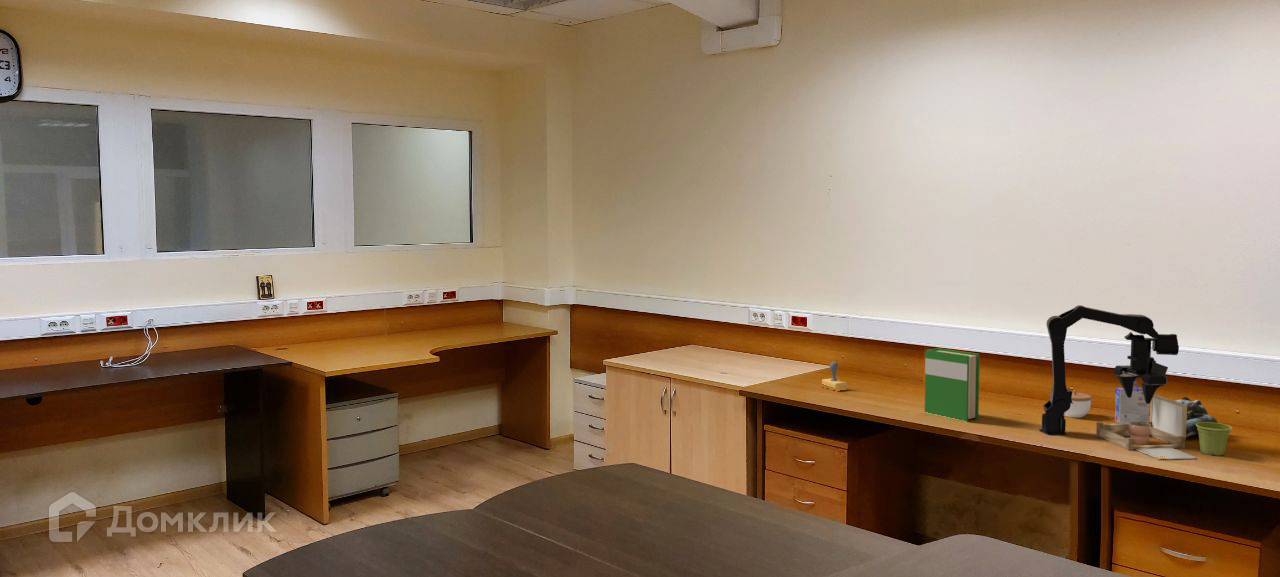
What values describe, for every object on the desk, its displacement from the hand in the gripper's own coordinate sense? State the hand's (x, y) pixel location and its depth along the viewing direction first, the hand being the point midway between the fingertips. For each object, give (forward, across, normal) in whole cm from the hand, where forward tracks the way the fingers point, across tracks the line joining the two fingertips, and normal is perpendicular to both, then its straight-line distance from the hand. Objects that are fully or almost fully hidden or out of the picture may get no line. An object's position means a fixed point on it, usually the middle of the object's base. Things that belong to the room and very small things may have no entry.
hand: (1138, 400), depth 286 cm
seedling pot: (+13, -5, +2) cm, 14 cm away
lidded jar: (+13, +32, +2) cm, 34 cm away
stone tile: (+12, -19, +4) cm, 23 cm away
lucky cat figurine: (+13, +1, -18) cm, 22 cm away
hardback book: (+13, +38, +46) cm, 61 cm away
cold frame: (+13, -5, +2) cm, 14 cm away
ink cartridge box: (+13, +19, -12) cm, 26 cm away
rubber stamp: (+14, +92, +73) cm, 119 cm away
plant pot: (+13, -20, -11) cm, 26 cm away
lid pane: (+10, -5, -7) cm, 13 cm away
